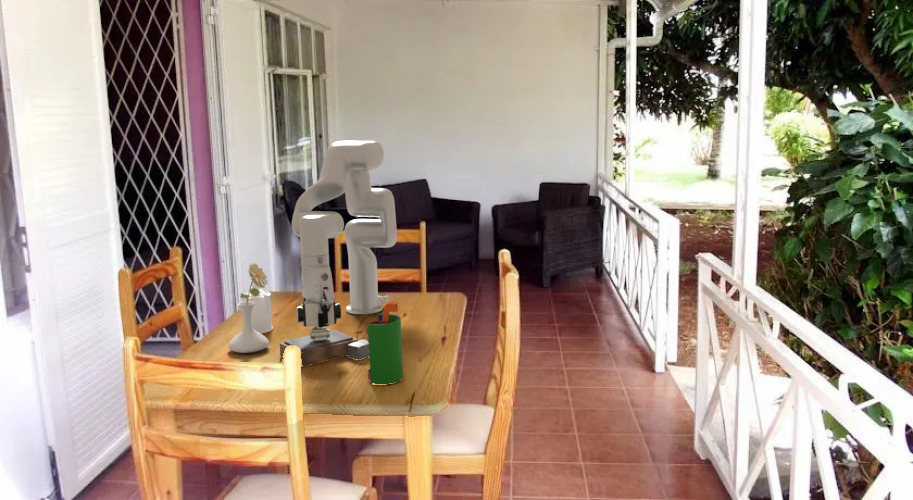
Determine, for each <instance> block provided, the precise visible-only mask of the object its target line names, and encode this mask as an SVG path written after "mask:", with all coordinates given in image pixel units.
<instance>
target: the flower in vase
mask: <svg viewBox="0 0 913 500" xmlns="http://www.w3.org/2000/svg"><path fill="white" fill-rule="evenodd" d="M247 268H248V274H249V277H250V280H251V283H250V286H249V290H248V292H249V294H248V295H245V294H244V293H240V297H241V298H247V302H242V301H240V302H238V303H237V304H236V306H237V307H239V309H240V311H241V315H242V330H241V331H240V332H238V333H237V334H236V335H235V336H234V337H233V338H232V339H231V340H230V341H229V342H228V346H227V347H228V349H229V350H230V351H232V352H234V353H238V354H246V353H249V354H250V353H256V352H260V351H262V350H264V349H266V348H267V347H268V346H269V345H270V340H269V339H268V337H266V336H265V335H263V334H260V333H259V332H257V331H256V330H254V329H253V327H252V322H251V313H252V309H253V306H254V305H255V302H251V301H248V299H249V297H250V296H249V295H250V293H251V294H252V295H253V296H258V295H259V293H260V292H259V290H257V289H256V288H252V289H251V287H252V283H253V282H254V284H256V286H257V287H258V286H259V287H260V288H261V289H263V288H266V285H268V279H267V278H268V276H267V275H266V273H265V272H264V270H263V268H262V267H259V265H258V264H257V263H255V262H254V263H253V262H252V263H250V264H249V267H247ZM240 297H239V298H240ZM241 298H240V299H241Z"/></svg>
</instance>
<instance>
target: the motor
mask: <svg viewBox="0 0 913 500" xmlns="http://www.w3.org/2000/svg"><path fill="white" fill-rule="evenodd" d="M398 305H399V304H398V302H395V301H387V303H385V305H384V306H383V310H382V313H378V314H377V316H378V317H377V318H378V319H377V320H375V321H370V322H368V323H367V324H366V329H367V331H366V334H367V339H366V340H367V341H368V342H369V344H368V349H369V350H368V355H369V357H368V362H369V368H368V370H367V379H369V380H371V382H370V384H371V383H375V384H389V383H394V382H398V381H400V380H401V379H402V378H403V379H404V363H403V361H404V360H403V341H402V321H401V320H402V317H401V316H399V315H398V314H392V313H397V312H398V311H399V309H398V308H399V306H398ZM391 312H392V313H391ZM390 313H391V314H390ZM403 379H402V380H403ZM369 380H368V381H369ZM402 380H401V381H402ZM401 381H400V382H401ZM398 383H399V382H398Z"/></svg>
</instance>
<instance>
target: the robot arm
mask: <svg viewBox="0 0 913 500" xmlns="http://www.w3.org/2000/svg"><path fill="white" fill-rule="evenodd" d="M383 161H384V148H383V146H382V144H381V142H379V141H377V140H339V141H335V142H333V143H330V145H329V146H328V147H327V148H326V152H325V156H324V158H323V161H322V162H323V163H322V166H321V170H320V173H319V177H318V180H317V181H316V182H315V183H314V184H312V185H311V186H309V187H308V188H307V189H306V190H305V191H304V192H303V193H302V194H301V195H300V196H299V198H298V199H297V200H296V203H295V207H294V210H293V214H292V219H291V229H292V232H293V234H294V235H295V236H297V237H299V243H300V244H299V246H300V259H301V260H300V264H301V265H300V266H301V296H302V298H303V301H313V302H316V303H317V304H318V309H319V313H318V326H319V327H320V328H321V327H326V328H327V327H329V326H330V325H331V324H328V312H330V308H331V306H332V304H333V301H332V300H333V299H334V297H335V295H334V283H333V277H332V271H331V266H330V254H329V253H330V251H329V239H336V238H337V237H339V236H340V235H341V234H342V233H343V230H344V238H345V241H346V249H347V255H348V257H347V258H348V276H349V277H348V278H349V279H348V280H349V300H350V301H349V302H350V304H348V305H347V306H346V307H345V311H346V312H347V313H349V314H352V315H371V314H372V315H373V314H377V313H380V312H383V310H384V306H383V305H382V304H383V302H390V300H391V297H390V296H389V295H384V296H382V295H379V292H378V287H379V286H378V262H377V261H378V260H377V257H376V255H375V253H374V252H373V251H372V249H371V248H392V247H393V246H394V245H395V244H396V243H397V239H398V238H397V237H398V231H397V230H398V229H397V219H396V218H397V217H396V206H395V205H396V204H395V197H394V195H393V192H392V191H391V190H390V189H388V188H384V187H383V188H382V187H372V186H371V177H370V173H369V171H373V170H375V169H378V168H379V167H381V165H382V163H383ZM343 194H345V195H344V196H345V204H346V209H347V212H348V214H349V215H350V216H353V217H361V218H356V219H352V220H349V221H348V222H347V223H346V225H345V222H344V218H343V217H342V215H341V214H340V213H338V212H336V211H327V210H326V211H322V210H318V211H317V210H313V209H314V208H315V207H317V206H319V205H321V204H323V203H326V202H329V201H331V200H334V199H336V198H339V197H340V196H343ZM362 217H365V218H362ZM367 217H369V218H367ZM373 217H374V219H373ZM375 217H376V218H375ZM321 300H324V301H322V302H321ZM324 303H325V305H323V307H322V305H321V304H324ZM325 324H328V325H325Z"/></svg>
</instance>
